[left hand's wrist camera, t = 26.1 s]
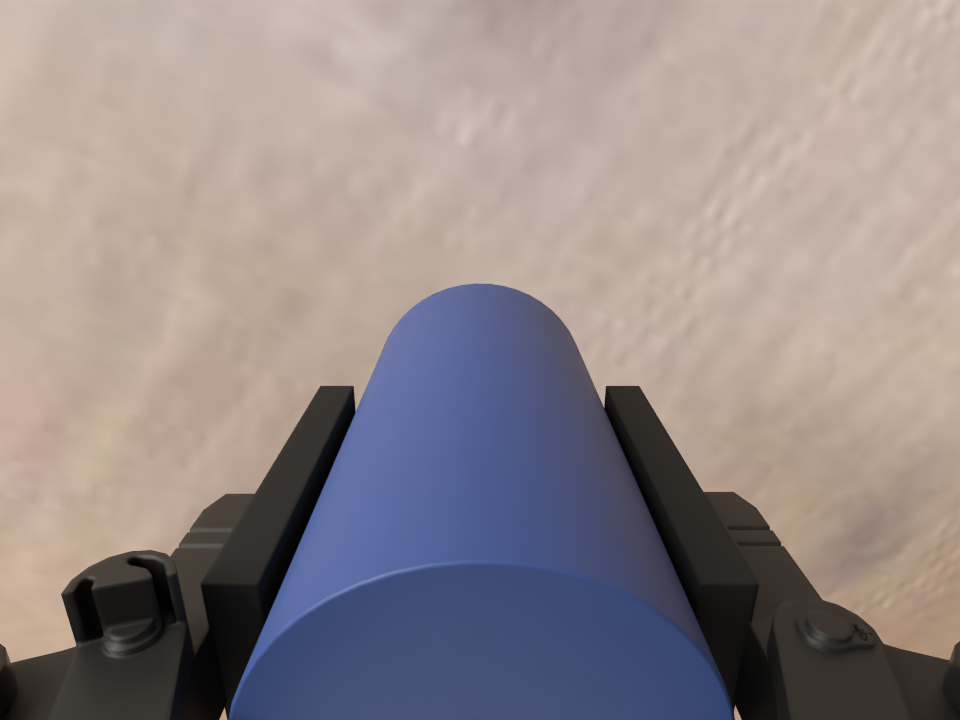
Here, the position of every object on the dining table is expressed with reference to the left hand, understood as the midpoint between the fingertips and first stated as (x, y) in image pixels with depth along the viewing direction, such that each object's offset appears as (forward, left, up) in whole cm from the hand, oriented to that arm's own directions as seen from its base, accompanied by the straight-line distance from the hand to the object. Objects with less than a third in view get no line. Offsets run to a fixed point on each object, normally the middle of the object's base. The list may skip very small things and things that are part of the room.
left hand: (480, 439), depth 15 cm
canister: (0, 0, -3) cm, 3 cm away
